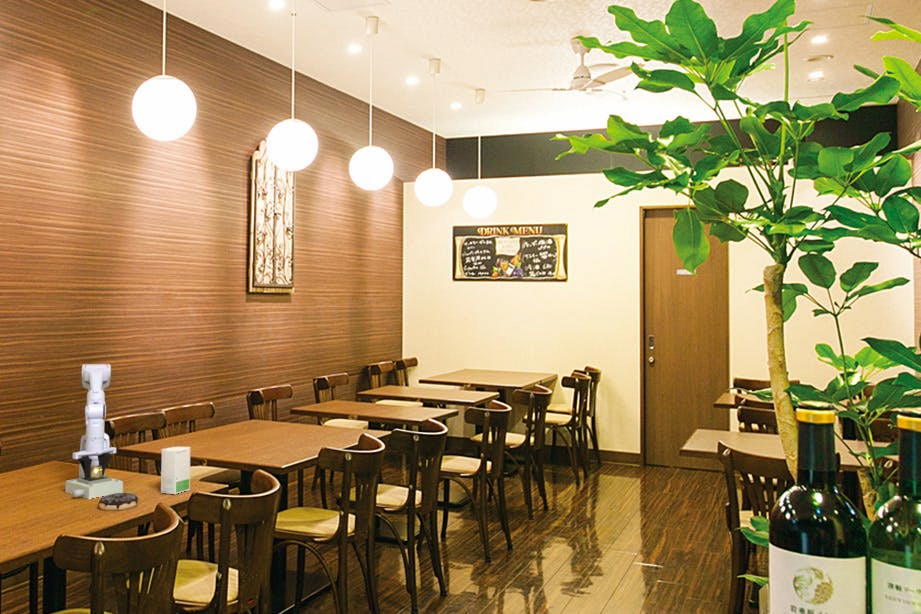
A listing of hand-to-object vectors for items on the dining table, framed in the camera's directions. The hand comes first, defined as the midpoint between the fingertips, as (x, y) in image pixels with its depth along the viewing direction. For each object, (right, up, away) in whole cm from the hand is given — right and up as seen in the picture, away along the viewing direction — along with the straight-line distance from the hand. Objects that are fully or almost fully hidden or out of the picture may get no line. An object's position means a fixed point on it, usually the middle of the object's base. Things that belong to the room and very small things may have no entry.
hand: (94, 476), depth 257 cm
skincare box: (+28, -6, +2) cm, 28 cm away
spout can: (0, -2, 0) cm, 2 cm away
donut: (+17, -6, -18) cm, 26 cm away
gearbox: (-1, -6, -1) cm, 6 cm away
